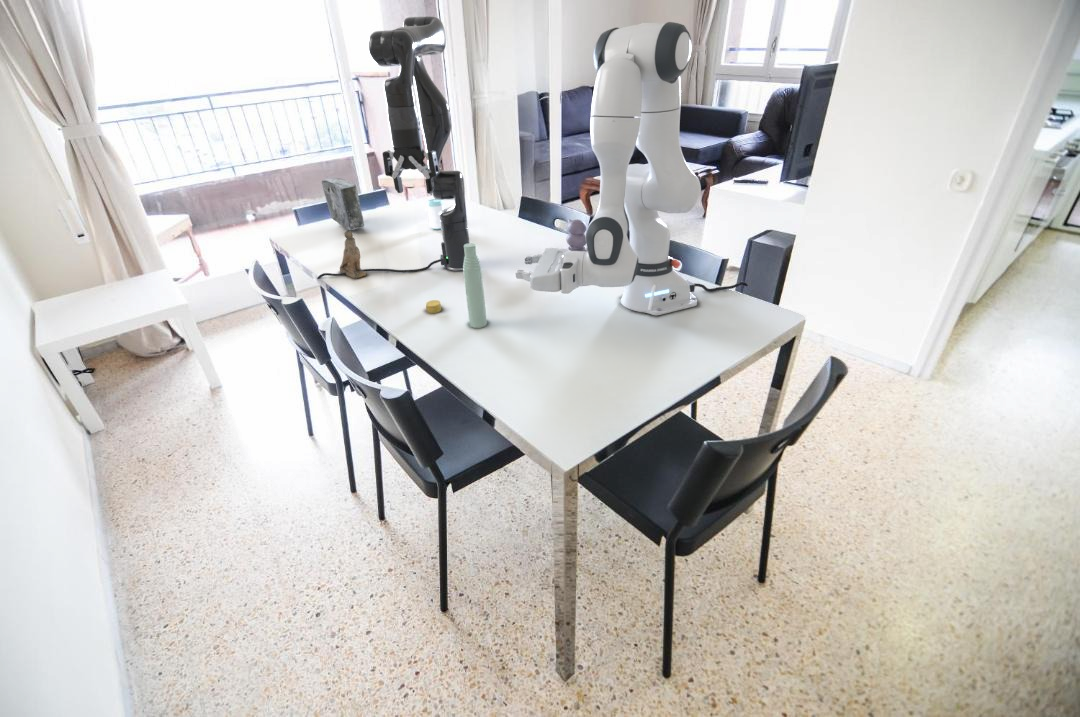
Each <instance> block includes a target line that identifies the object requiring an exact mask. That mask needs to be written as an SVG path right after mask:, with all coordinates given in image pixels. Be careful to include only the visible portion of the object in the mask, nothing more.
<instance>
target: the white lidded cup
mask: <svg viewBox="0 0 1080 717" xmlns="http://www.w3.org/2000/svg"><path fill="white" fill-rule="evenodd" d="M426 207H427V211H428V212H427V213H428V219H429V226H430V228H431V229H433V230H442V229H441V223H440V212H441V211H442V210H444V209H445V205H444V202H443V200H436V199H435V198H432V199H428V201H427V204H426Z"/></svg>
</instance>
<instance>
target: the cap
mask: <svg viewBox="0 0 1080 717" xmlns="http://www.w3.org/2000/svg"><path fill="white" fill-rule="evenodd" d="M425 308H426V312H427V313H429V314H437V313H440V312H441V311H442V304H441V301H440V300H437V299H433V300H432V299H431V300H429V301H428V300H427V301H426V302H425Z"/></svg>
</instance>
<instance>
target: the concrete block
mask: <svg viewBox="0 0 1080 717" xmlns="http://www.w3.org/2000/svg"><path fill="white" fill-rule="evenodd" d="M321 186H322V190H323V194H324V197H325V200H326V204H327V208H328V211H329V214H330V217H331V219H332V220H333V221H335V222H337V223H338V224H339V225H340V226H342V228H344V229H346V231H348V230H350V231H354V230H357V229H360V228H363V227H365V221H364V217H363V212H362V207H361V203H360V202H361V201H360V197H359V192H358V188H357V186H356V184H354V183H353V182H351V181H349V180H347V179H345V178H342V177H341V178H340V177H332V178H326V179H322V180H321Z"/></svg>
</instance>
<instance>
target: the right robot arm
mask: <svg viewBox="0 0 1080 717" xmlns="http://www.w3.org/2000/svg"><path fill="white" fill-rule="evenodd" d="M691 54H692V37H691V34H690V32H689V31H688V29H687V26H686V25H684V24H682V23H679V22H673V21H668V22H665V23H664V22H641V23H639V24H634V25H628V26H624V27H613V28H610V29H607V30H605V31H603V32H602V33H601V34H600V35H599V37H598V39H597V41H596V43H595V45H594V49H593V55H592V56H593V67H594V69H595V72H596V77H595V82H594V85H593V86H594V87H593V92H592V99H591V105H590V106H591V107H590V120H589V132H590V134H589V136H590V145H591V150H592V151H593V153H594V155H595V157H596V159H597V161H598V165H599V170H600V182H599V183H600V184H599V201H598V202H599V203H598V207H597V209H596V211H595V213H594V215H593V217H592V219H591V221H590V222H589V224H588V225H587V226H586V231H585V234H586V236H585V237H586V248H587V250H585V251H570V250H569V249H568V248H562V247H547V248H545V249H544V250H543V253H538V254H534V255H526V256H525V257H524V264H525V265H533V264H536V265H535V266H534V268H533V270H532V271H525V270H524V269H517V271H516V272H515V278H516V279H517V280H524V281H526V282H529V285H530V289H532V290H533V291H536V292H545V293H546V292H547V293H557V292H561V294H565V295H568V294H570V293H572V292H573V291H574V290H575V289H578V288H579V287H590V286H596V287H599V288H622V287H624V289H623V293H622V296H621V298H620V304H621V305H622V306H623V307H625V308H626V309H629V310H630V311H635V312H639V313H646V314H648V315H651V316H661V315H665V314H669V313H673V312H677V311H681V310H684V309H689V308H693V307H696V306H697V305H698V298H697V297H696V296H695V295H694V294H693V293H694V292H695V288H696V287H699V288H702V289H703V290H704V291H706V292H708V293H709V292H710V293H711V292H716V291H717V292H718V291H723V290H732V289H735V288H737V287H739V286H745V287H748V286H749V285H748V283H747V282H745V281H739V282H737V283H735V284H733V285H727V286H726V285H725V286H717V287H713V288H708V287H706V285H704V284H702V283H696V282H692V281H690V280H688V279H687V278H685V277H684V276H683V275H682V274H680V273H679V272H678V271H676V270H675V269H679V267H680V266H681V262H680V261H679V260H677V259H674V258H673V257H671V256H669V253H670V252H669V251H670V244H671V243H670V242H671V231H670V228H669V227H668V225H667V224H666V223H665V222H664V221H663V220H662V219H661V216H660V215H659V212H660V213H661V212H662V213H665V214H687V213H689V212H690V211H692V210H693V209H694V208H695V207H696V205H698V202H699V200H700V197H701V195H702V194H701V192H702V186H701V181H700V178H699V177H698V176H697V175H696V174H695V173H694V172H693V170H692V169H691V168H690V166H689V165H688V163H687V161H686V158H685V157H684V154H683V151H682V150H683V149H682V145H681V140H680V122H681V121H680V120H681V104H682V103H681V100H682V98H681V96H682V94H681V93H682V90H681V89H682V88H681V76H682V75H683V73H684V72H685V71H686V70H687V67H688V65H689V63H690V60H691V56H692V55H691ZM635 148H637V150H638V151H640V152H641V153H642V154H643V155H644V157H645V158H646V160H647V163H648V164H643V163H630V162H631V160H632V157H633V155H634V152H635ZM628 235H629V238H628Z"/></svg>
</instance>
